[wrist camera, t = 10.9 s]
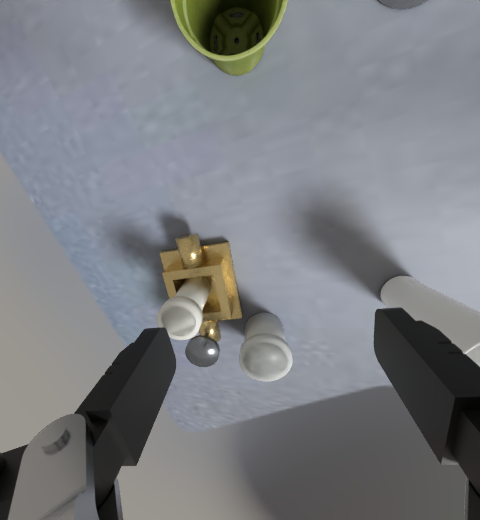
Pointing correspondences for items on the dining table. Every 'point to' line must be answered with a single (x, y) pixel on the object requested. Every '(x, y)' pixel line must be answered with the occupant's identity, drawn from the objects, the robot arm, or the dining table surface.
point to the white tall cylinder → (436, 312)
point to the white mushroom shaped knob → (185, 309)
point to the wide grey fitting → (265, 348)
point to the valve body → (219, 299)
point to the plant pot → (229, 29)
